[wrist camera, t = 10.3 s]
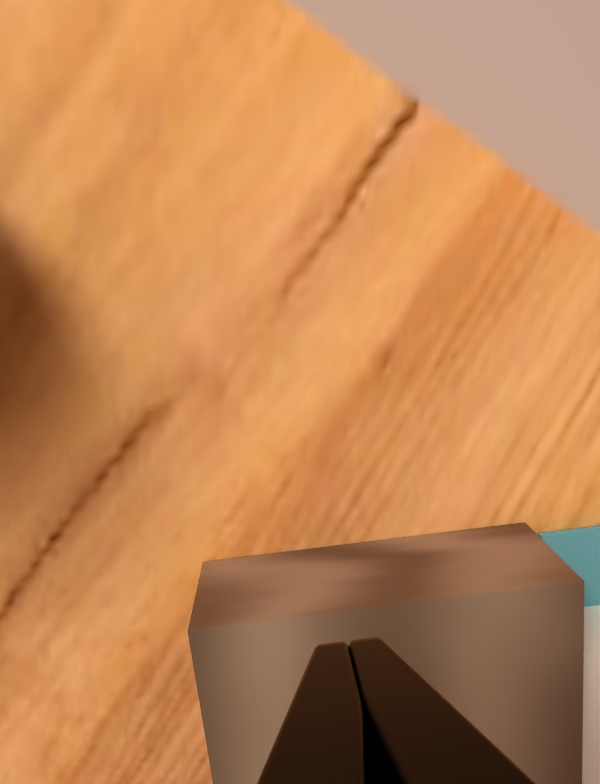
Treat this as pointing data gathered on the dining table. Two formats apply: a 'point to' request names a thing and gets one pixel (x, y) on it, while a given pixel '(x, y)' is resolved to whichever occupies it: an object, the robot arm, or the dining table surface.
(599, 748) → the light grey block
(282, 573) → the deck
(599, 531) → the mat
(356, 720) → the robot arm
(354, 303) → the dining table surface
